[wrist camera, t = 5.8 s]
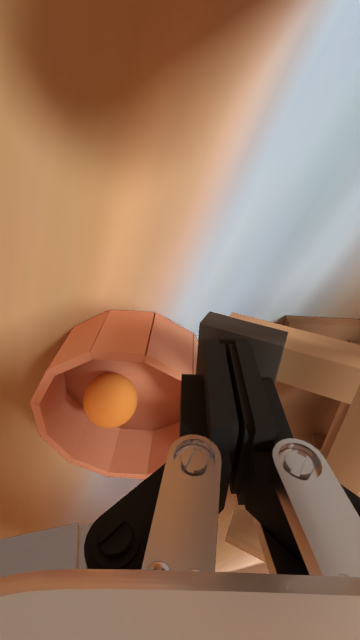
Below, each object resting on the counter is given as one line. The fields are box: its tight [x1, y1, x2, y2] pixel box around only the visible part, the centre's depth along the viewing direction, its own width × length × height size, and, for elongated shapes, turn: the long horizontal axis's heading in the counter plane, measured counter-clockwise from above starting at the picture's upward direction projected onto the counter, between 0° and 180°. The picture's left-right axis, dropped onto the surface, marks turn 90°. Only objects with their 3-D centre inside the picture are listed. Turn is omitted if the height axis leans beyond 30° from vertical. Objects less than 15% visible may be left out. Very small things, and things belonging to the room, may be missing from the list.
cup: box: [30, 310, 198, 479], centre depth 24 cm, size 12×12×5 cm
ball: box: [83, 373, 138, 428], centre depth 23 cm, size 4×4×4 cm
